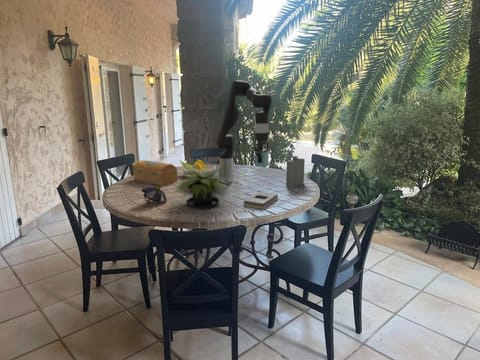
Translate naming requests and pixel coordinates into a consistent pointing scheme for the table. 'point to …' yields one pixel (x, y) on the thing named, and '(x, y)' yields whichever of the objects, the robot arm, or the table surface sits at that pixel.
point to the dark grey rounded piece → (153, 193)
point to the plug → (264, 160)
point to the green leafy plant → (192, 173)
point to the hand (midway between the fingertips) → (261, 161)
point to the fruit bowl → (198, 167)
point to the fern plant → (202, 189)
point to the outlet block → (260, 200)
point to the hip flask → (295, 172)
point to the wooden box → (155, 172)
